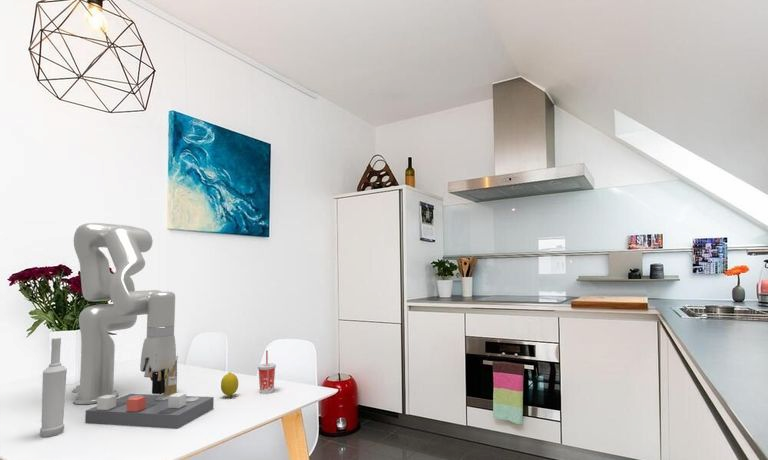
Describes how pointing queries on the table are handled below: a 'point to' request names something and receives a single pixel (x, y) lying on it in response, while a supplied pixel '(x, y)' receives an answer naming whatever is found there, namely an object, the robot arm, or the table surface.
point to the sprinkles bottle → (171, 380)
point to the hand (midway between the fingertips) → (158, 393)
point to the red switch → (136, 403)
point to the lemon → (229, 384)
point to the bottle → (53, 394)
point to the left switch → (106, 402)
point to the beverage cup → (266, 376)
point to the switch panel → (151, 412)
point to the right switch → (177, 400)
